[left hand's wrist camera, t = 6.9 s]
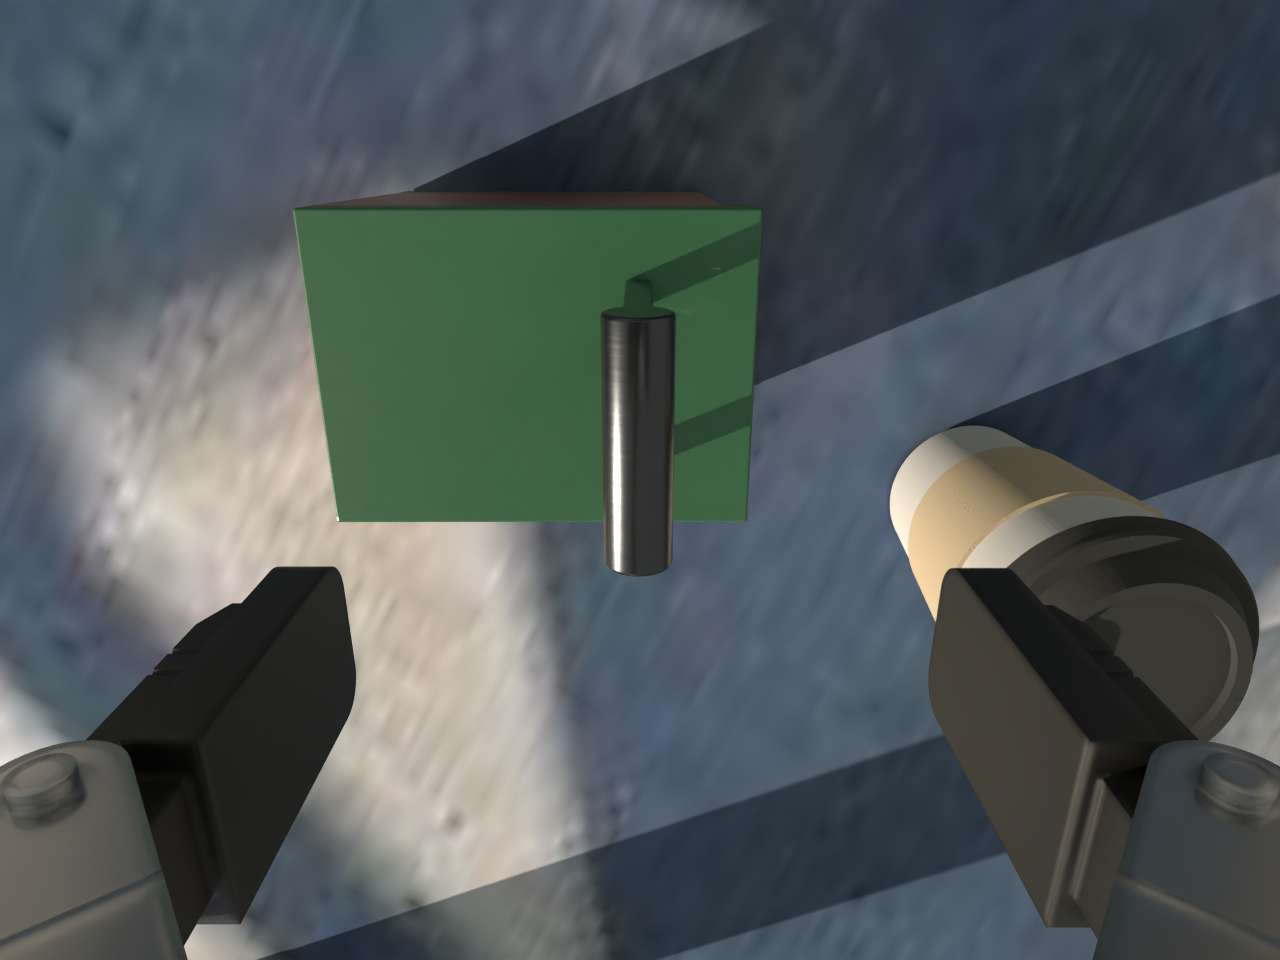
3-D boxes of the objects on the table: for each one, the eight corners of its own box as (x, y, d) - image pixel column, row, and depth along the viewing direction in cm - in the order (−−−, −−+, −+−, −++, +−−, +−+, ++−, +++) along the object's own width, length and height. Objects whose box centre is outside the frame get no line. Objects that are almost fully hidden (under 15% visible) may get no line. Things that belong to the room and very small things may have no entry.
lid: (756, 205, 24) (813, 228, 16) (742, 506, 27) (783, 644, 19) (309, 205, 24) (151, 228, 16) (350, 506, 27) (236, 644, 19)
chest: (698, 191, 34) (724, 205, 24) (693, 410, 37) (713, 505, 27) (408, 191, 34) (309, 205, 24) (429, 411, 37) (350, 506, 27)
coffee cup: (1076, 398, 37) (1346, 546, 23) (1048, 580, 40) (1268, 808, 26) (870, 406, 37) (1012, 558, 23) (859, 587, 40) (977, 818, 26)
